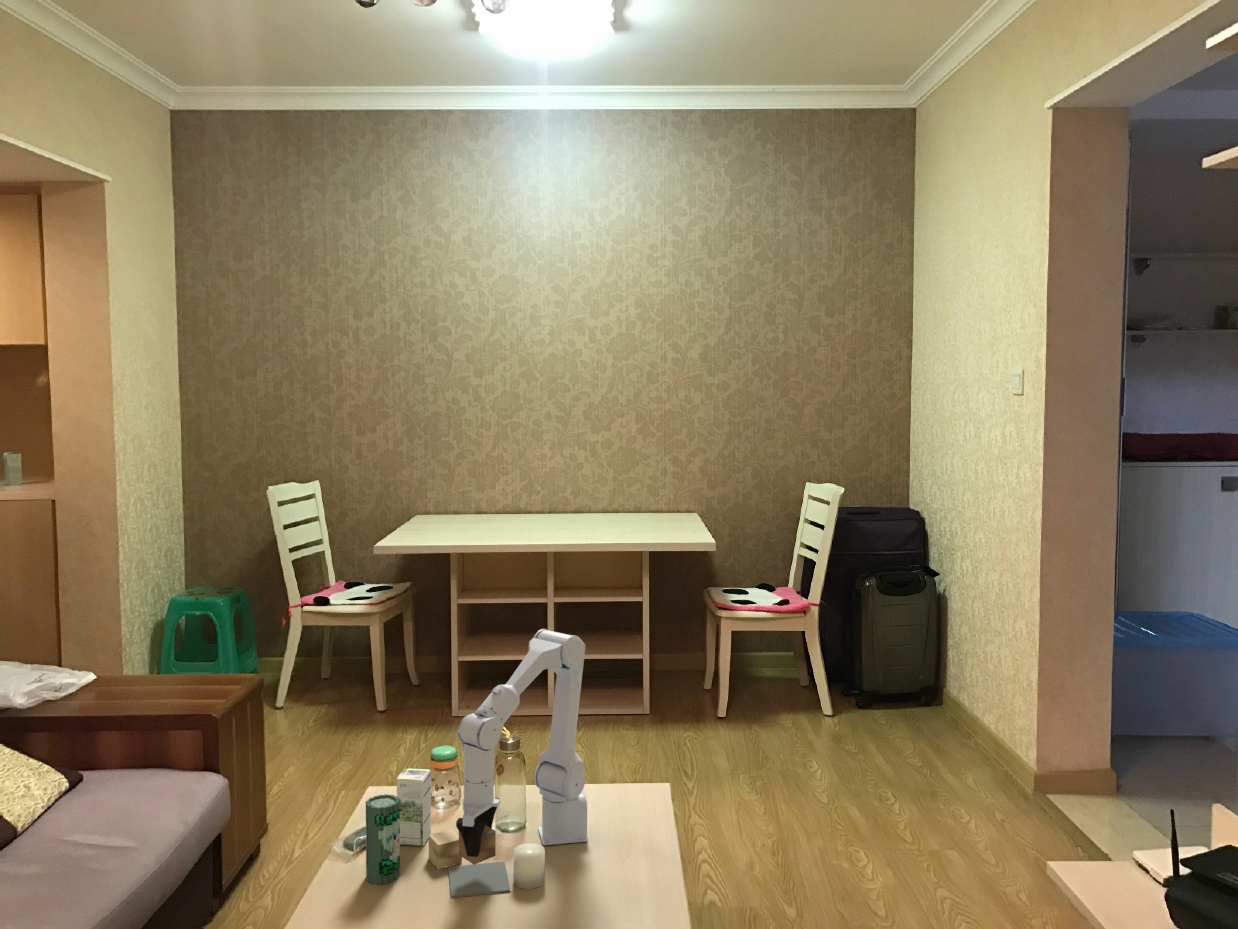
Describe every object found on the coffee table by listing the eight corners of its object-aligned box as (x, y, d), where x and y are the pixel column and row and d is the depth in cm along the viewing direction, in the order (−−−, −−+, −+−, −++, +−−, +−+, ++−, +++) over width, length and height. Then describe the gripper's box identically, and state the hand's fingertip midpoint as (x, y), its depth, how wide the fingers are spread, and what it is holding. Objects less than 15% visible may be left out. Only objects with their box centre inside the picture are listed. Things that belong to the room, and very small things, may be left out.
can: (390, 886, 181) (390, 809, 180) (361, 882, 183) (360, 806, 181) (404, 870, 187) (404, 796, 186) (375, 867, 188) (375, 793, 187)
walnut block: (480, 846, 187) (480, 822, 187) (495, 855, 184) (495, 830, 183) (458, 855, 184) (458, 830, 183) (474, 865, 180) (474, 839, 180)
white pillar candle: (542, 871, 188) (542, 842, 187) (546, 887, 182) (547, 856, 181) (511, 874, 186) (511, 844, 186) (515, 890, 180) (515, 859, 180)
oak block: (451, 852, 195) (451, 829, 194) (461, 863, 191) (461, 839, 190) (428, 859, 192) (428, 835, 192) (438, 869, 188) (438, 845, 188)
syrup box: (431, 834, 202) (431, 768, 201) (423, 847, 197) (423, 779, 195) (405, 833, 203) (405, 766, 202) (396, 846, 197) (395, 778, 196)
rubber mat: (504, 863, 190) (504, 861, 190) (510, 892, 180) (510, 889, 180) (448, 868, 188) (448, 866, 188) (451, 898, 177) (450, 895, 177)
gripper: (488, 794, 175) (488, 866, 176) (508, 764, 189) (508, 830, 190) (451, 792, 176) (451, 863, 177) (474, 762, 190) (473, 828, 191)
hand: (478, 846), depth 183 cm, fingers closed on walnut block, 7 cm apart
